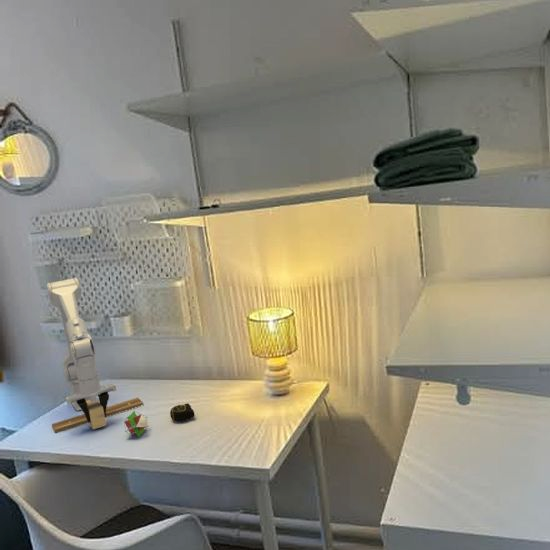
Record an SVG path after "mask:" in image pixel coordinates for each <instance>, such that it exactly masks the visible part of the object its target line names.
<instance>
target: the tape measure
mask: <svg viewBox="0 0 550 550" xmlns="http://www.w3.org/2000/svg"><path fill="white" fill-rule="evenodd" d="M169 415H170V418H171V420H172V421H174V422H176V423H182V422H186V421H188V420H191V419H193V418H195V416H196V415H195V411H194V409H193V408H192V405H190V403H188V402H187V403H184V404H178V405H175V406H173V407H172V408H171V409H170V412H169Z"/></svg>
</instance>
